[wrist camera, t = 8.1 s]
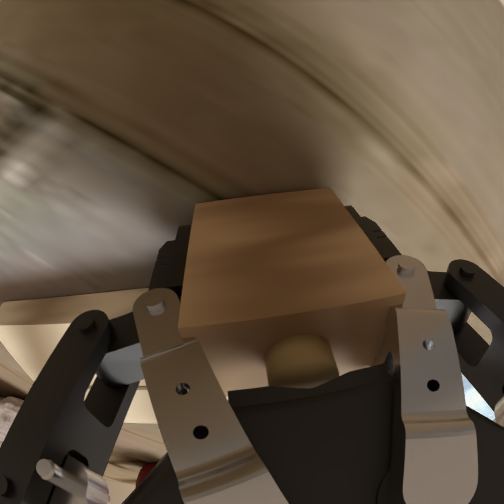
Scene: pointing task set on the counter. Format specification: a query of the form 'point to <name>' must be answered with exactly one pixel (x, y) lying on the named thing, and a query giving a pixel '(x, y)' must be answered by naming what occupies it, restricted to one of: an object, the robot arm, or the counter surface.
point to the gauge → (284, 290)
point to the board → (53, 328)
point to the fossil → (8, 413)
